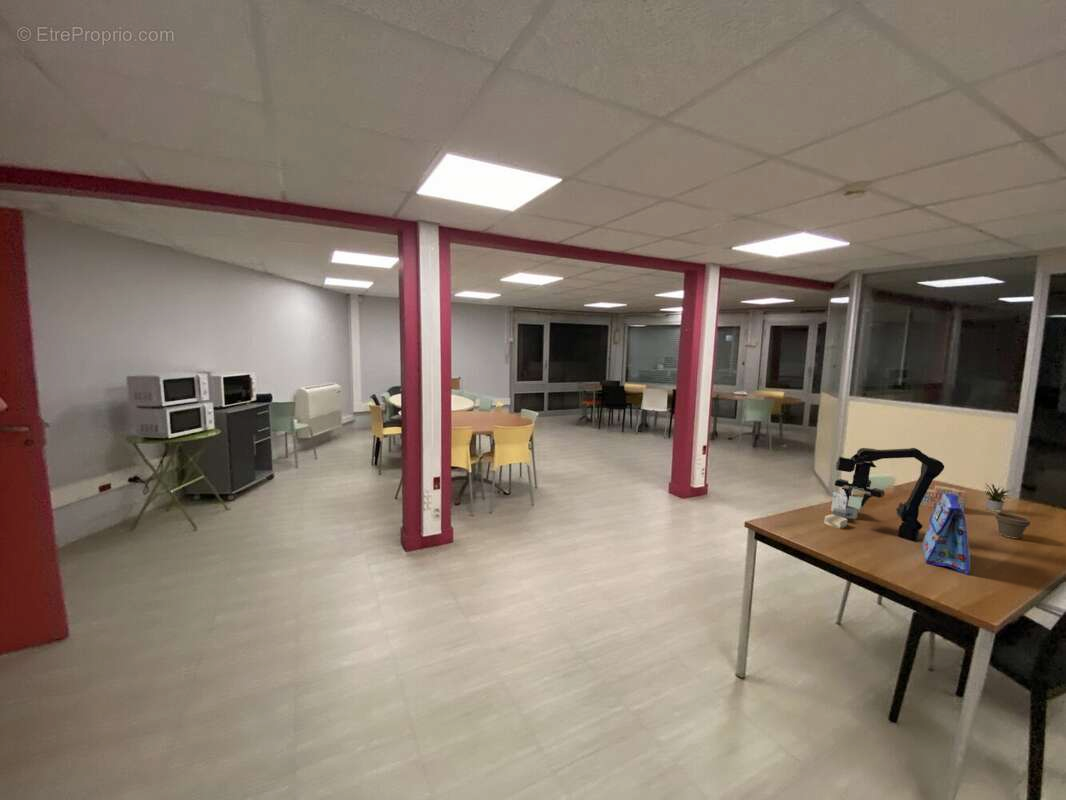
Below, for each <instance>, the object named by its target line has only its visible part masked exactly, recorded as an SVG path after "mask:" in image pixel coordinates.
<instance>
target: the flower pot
mask: <svg viewBox="0 0 1066 800" xmlns="http://www.w3.org/2000/svg"><path fill="white" fill-rule="evenodd" d="M994 517H995V520H997V524H998V525H997V526H998V532H999V534H1000V533H1001V534H1003V535H1006V536H1010V537H1017V538H1019V537H1020V538H1021V537H1022V536H1023V534H1024V533H1025V530H1026V529H1027V527H1029V526H1030V525H1031V520H1030V519H1028V518H1026V517H1023V516H1020V515H1016V514H1011V513H1005V512H995V516H994ZM1020 538H1019V539H1020Z"/></svg>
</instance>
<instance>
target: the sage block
mask: <svg viewBox="0 0 1066 800" xmlns="http://www.w3.org/2000/svg"><path fill="white" fill-rule="evenodd" d="M863 497H864V496H859V495H856V494H851V496H849V501H848V506H850V507H853V508H857V509H858V510H862V509H863V508H864V507H865V505H864V506H863V507H862V501H863Z"/></svg>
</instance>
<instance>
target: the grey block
mask: <svg viewBox="0 0 1066 800" xmlns="http://www.w3.org/2000/svg"><path fill="white" fill-rule="evenodd" d="M845 513H846V510H842V509H838V508H834V510H833V511H832V514H834V515H837V516H840V517H843V518H845Z"/></svg>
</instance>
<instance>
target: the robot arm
mask: <svg viewBox="0 0 1066 800" xmlns="http://www.w3.org/2000/svg"><path fill="white" fill-rule="evenodd" d="M907 458H908V459H909V458H912V459H913V458H914V459H916V460H917V461H919V462H920V463H921V466H920V475H919V476H918V479H917V481H916V482H915V485H914V486H913V489H912V491H911V493H910V495H909V496H908V499H907V500H906V501H905V502H904V503H902V502H899V504H898V507H897V508H895V509H896V514H897V516H898V518H899V519H900V520H901V524H900V525H899V526H898V532H897V534H898V535H897V536H898V537H899V538H903V539H906V540H908V541H913V542H917V541H918V540H919V539H920V537H919V536H920V532H921V531H920V530H921V529H922V528H923V526H924V525H923V524H922V523H921V522H920V521H919V520H918V518H919V515H920V514H919V512H920V510H919V509H920V503H921V502H922V500H923V498H924V496H925V494H926V492H927V490H928V489H929V488H930V486H931V484H932V482H933V481H934V480H935V479H936V478H937V477H939V475H940V474H941V473H942V472H943V471H944V470H945V465H944V463H943V462H942V461H940V460H938V459H937V458H934V457H932V456H929V455H926V454H925V453H924V452H922V451H921V450H920V449H918V448H915V447H910V448H893V449H892V448H891V449H890V448H889V449H876V448H869V447H862V448H859V449H858V450H857V452H856V453H855V454H853V455H852V456H851V457H850V458H848V457H843V456H839V457H838V459H837V462H836V465H835V470H836V471H840V472H846V473H851V472H853V471H854V473H853V475H852V483H850V482H849V480H846V479H843V478H840V479H837V480H835V481H834V486H836V487H838V488H841V490H844V493H846V496H847V499H848V501H849V496H851V495H853V494H852V492H853V489H854V490H859V491H861V492H866V493H864V494H863V496H862V497H863V501H862V507H863V506H864V507H865V505H866V504H867V502H868V500H869V499H870V498H873V497H875V498H878V499H879V498H881V499H882V498H883V497H884V496H885V490H883V489H880V488H876V487H874V488H870V487H871V485H872V481H871V480H870V474H871V473H870V472H871V468H877V466H876V464H874V462H876V461H879V460H884V459H907Z"/></svg>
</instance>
